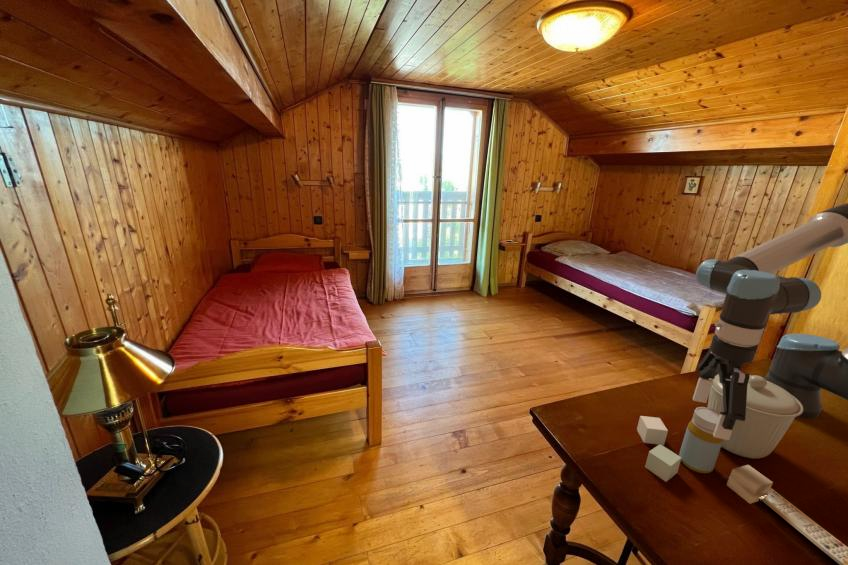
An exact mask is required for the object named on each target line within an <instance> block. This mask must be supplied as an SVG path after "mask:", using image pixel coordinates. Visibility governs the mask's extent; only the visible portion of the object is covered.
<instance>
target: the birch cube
mask: <svg viewBox="0 0 848 565" xmlns="http://www.w3.org/2000/svg"><path fill="white" fill-rule="evenodd" d="M773 484H774V482H773V481H772V480H770V479H769V478H768V477H766V476H765V475H763V473H760V472H759V471H758V470H756V469H755V468H754V467H752V466H751V465H750V464H746V465H742V466H738V467H734V468H732V470H731V472H730V475H729V477H728V480H727V482H726V486H727V487H728V488H729V489H730V490H732V491H733V492H735V493H736V495H738V496H739V497H741V498H742V499H743V500H745V501H746V502H747V503H748V504H753V503H757V502H760V501H759V497H761V496H764V495H767V496H768V495H769V492H770V491H771V487H772V486H773Z"/></svg>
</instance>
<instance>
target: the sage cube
mask: <svg viewBox="0 0 848 565" xmlns="http://www.w3.org/2000/svg"><path fill="white" fill-rule="evenodd" d="M647 454H648V455H647V458H646V463H645V465H644V468H645V469H647V470H648V471H650V472H651V473H652V474H654V475H656V476H657V477H658V478H660V479H661V480H663V481H664V482H666V483H667V482H669V480H671V479H672V478H673V477H674V476H675V475H676V474H678V471H679V468H680V463H681V462H682V461H681V459H682V458H681V457H680V456H679V454H677V453H675V452H673V451H672V450H670V449H669V448H667V447H665V445H661V444H659V445H658V444H657V445H656V446H655V447H653V448H652V449H650V450H649V451H648V453H647Z"/></svg>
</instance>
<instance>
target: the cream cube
mask: <svg viewBox="0 0 848 565" xmlns="http://www.w3.org/2000/svg"><path fill="white" fill-rule="evenodd" d="M636 430H637V431H636V432H637V433H638V434H639V436H640V438H641V440H642V442H643V444H650V445H657V446H658V445H659V444H661V445H662V446H665V444H666V443H665V442H666V439H667V435H668V432H669V430H668V429H667V427H666V426H665V424H664V422H663V420H662V419H661V417H654V416H646V415H645V416H644V415H640V416H639V420H638V424H637V427H636Z"/></svg>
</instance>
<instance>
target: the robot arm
mask: <svg viewBox="0 0 848 565" xmlns="http://www.w3.org/2000/svg"><path fill="white" fill-rule="evenodd" d="M846 244H848V202H846V203H843V204H840V205H836V206H833V207H831V208H828V209H825V210H823V211H821V212H818V213H816V214H814V215H812V216H811V217H810V218H808V219H807V221H806V223H804V224H802V225H800V226H798V227H796V228H793V229H791V230H789V231H787V232H784V233H783V234H781V235H779V236H775V238H774V237H773V238H772V239H770V240H768V241H766V242H763V243H760V244H759V245H757V246H755V247H752V248H750V249H748V250H746V251H743V252H741V253H740V254H737V255H735V256H733V257H731V258H729V259H727V260H725V261H724V260H721V259H714V258H710V259H707V260H704V261H703V262H702V263H700V264H699V266H698V267H697V269H696V271H695V279H696V282H697V283H698V284H699V285H700V286H703V287H705V288H707V289H709V290H711V291H715V292H718V293H721V294H724V295H725V297H724V299H723V300H724V301H723V304H722V307H721V308H722V309H721V312H720V313H719V317H718V321H717V322H716V323H714V327H715V330H714V333H715V334H714V335H713V336H712V339H711V342H710V344H709V347H708V350H707V353H706V354H705V355H704V356H703V357H702V359H701V361H700V362H699V363H698V365H697V367H696V371H697V372H698V377H699V378H698V380H697V382H696V387H695V389H694V392H693V396H692V401H694V402H698V403H703V404H704V403H705V404H707V401H708V400H709V394H710V389H711V386H712V383H713V381H712V380H710V379H714V378H715V376H716V375H717V374H719V381H720V383H721V384H722V387H723V407H724V412H723V411H721V412H720V415H719V418H718V421H717V424H716V427H715V430H714V433H713V436H714V437H716V438H720V439H725V440H729V439H730V436H731V433H732V430H733V428H734V425H735V422H736V420H741V421H745V417H746V400H747V385H748V381H749V378H750V376H749V375H750V374H749V373H745V372H743V370H742V368H743V365H745V364H748V363H751V362H753V360H754V358H755V355H756V352H757V349H758V345H759V344H760V342H761V338H762V336H763V333H764V330H765V328H766V323H767V321H768V319H769V316H770V315H778V314H789V313H791V314H792V313H794V314H795V313H800V312H802V311H808V310H811V309H813V308H814V307H816V306H817V305H819V303H820V301H821V299H822V291H821V288H820V287H819V285H818V284H817V283H816V282H815V281H813V280H811V279H809V278H806V277H797V276H790V277H785V276H780V275H777V274H774V273H776V272H779V271H780V270H783V269H785V268H787V267H789V266H791V265H793V264H796V263H798V262H800V261H802V260H804V259H806V258H808V257H811V256H813V255H815V254H817V253H819V252H821V251H824V250H826V249H828V248H839V247H843V246H844V245H846ZM840 349H841V346H840V343H838V342H837V341H836V340H833V339H830V338H828V337H822V336H821V335H820V336H819V335H813V334H807V333H788V334H785V335H783V336H782V337H781V338H780V341H779V342H778V345H776V350H775V353H774V355H773V359H772V361H771V364H770V367H769V370H768V372H767V374H766V375H765V376H764V377H763V378H764V379H765V380H766V381H769V382H771V383H773V384H776V385H778V386H779V387H781V388H783V389H784V390H786V391H787V392H789V393H790V394H791V395H793V396H794V397H795V398H796V399H797V400H798V401H799V402H800V403H801V404H802V406H803V412H802V414H801V415H799V416H797V417H796V418H800V419H816V418H819V417H820V414H821V412H822V410H823V408H822V407H823V406H822V401H821V398H822V397H821V390H824V391H827V392H828V393H832V394H833V395H835V396H837V397H839V398H842V399H844V400H846V401H848V347H847V348H844V349H843V350H842V351H841V350H840ZM709 378H710V379H709ZM726 379H727V380H726ZM730 380H731V381H730Z"/></svg>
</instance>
